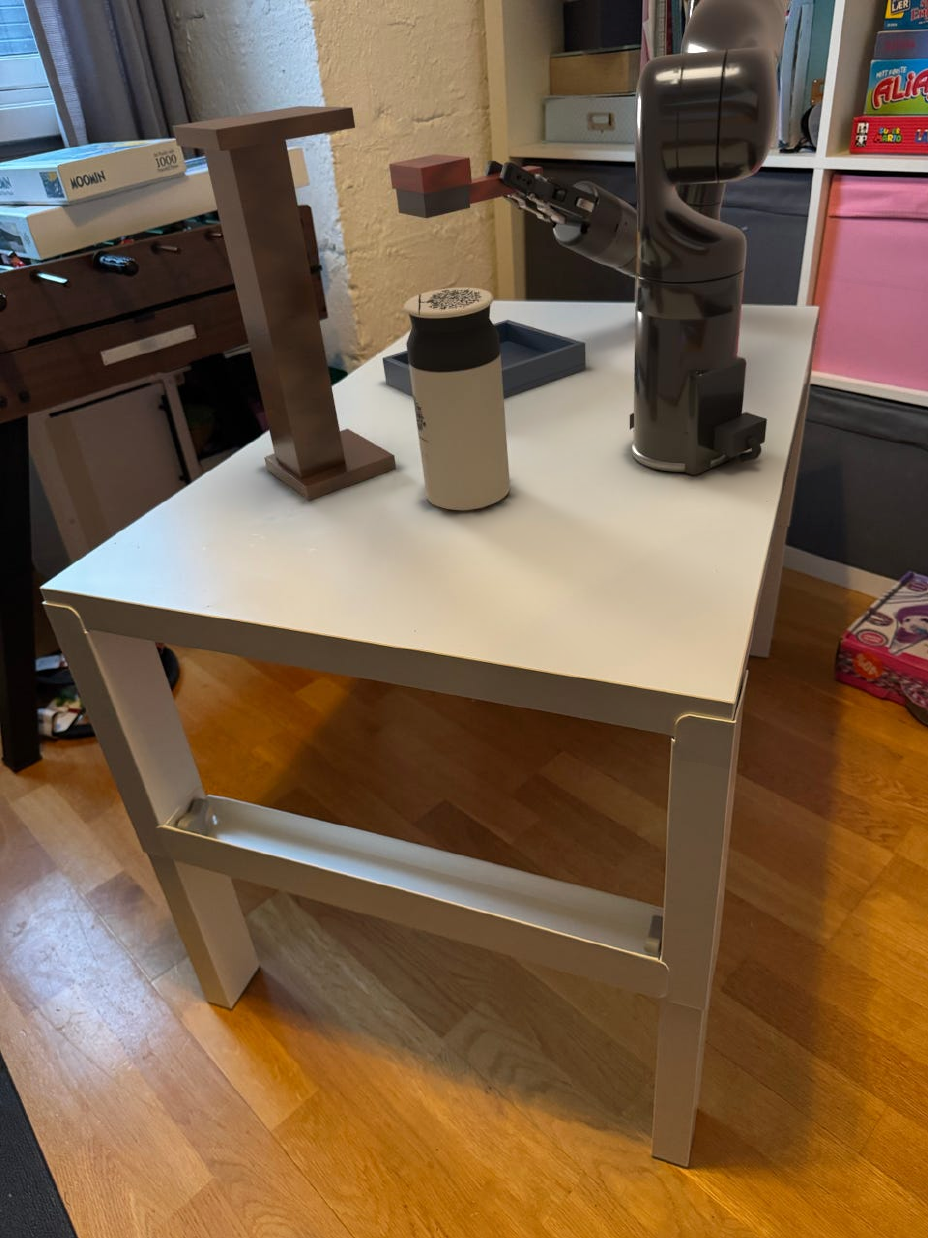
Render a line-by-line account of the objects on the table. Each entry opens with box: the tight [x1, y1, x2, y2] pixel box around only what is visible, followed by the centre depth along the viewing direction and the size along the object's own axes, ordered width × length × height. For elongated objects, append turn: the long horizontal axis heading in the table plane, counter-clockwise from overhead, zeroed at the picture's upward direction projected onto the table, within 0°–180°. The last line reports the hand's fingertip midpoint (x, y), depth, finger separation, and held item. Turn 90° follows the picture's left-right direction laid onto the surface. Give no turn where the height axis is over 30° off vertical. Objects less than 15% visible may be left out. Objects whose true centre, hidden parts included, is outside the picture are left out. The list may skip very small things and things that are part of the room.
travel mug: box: [403, 287, 511, 511], centre depth 78 cm, size 8×8×18 cm
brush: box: [388, 153, 544, 219], centre depth 95 cm, size 17×6×5 cm, turn 125°
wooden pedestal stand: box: [172, 105, 397, 501], centre depth 82 cm, size 12×10×32 cm
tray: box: [381, 319, 587, 399], centre depth 109 cm, size 16×20×3 cm
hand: (496, 170), depth 96 cm, fingers closed on brush, 2 cm apart
